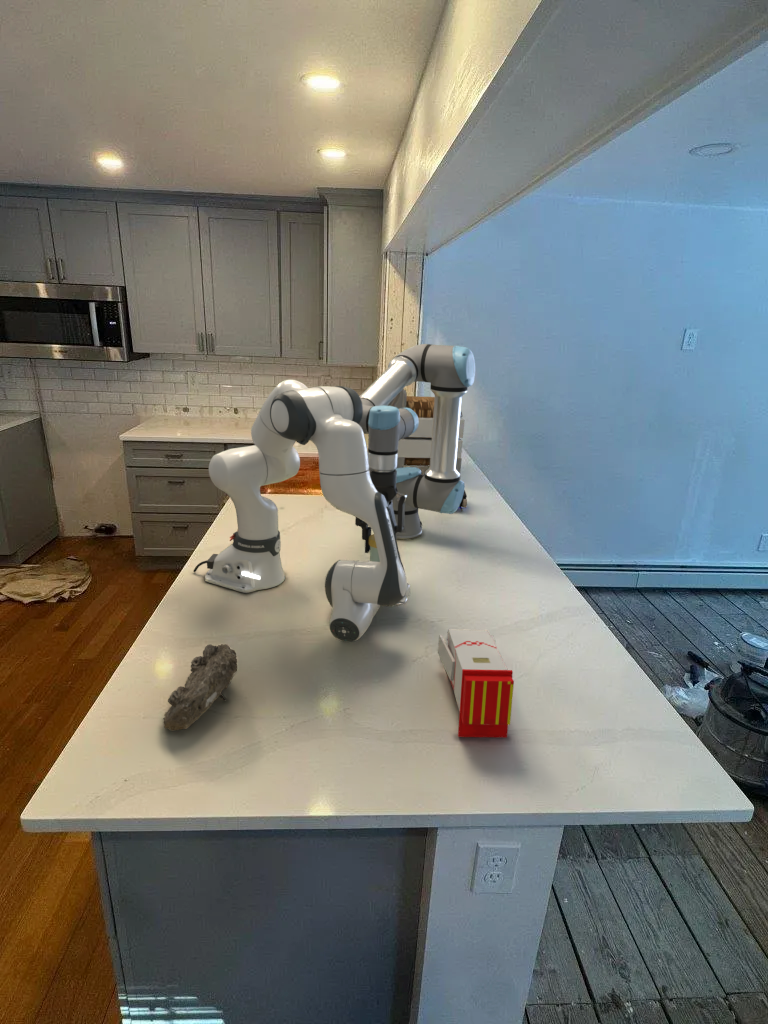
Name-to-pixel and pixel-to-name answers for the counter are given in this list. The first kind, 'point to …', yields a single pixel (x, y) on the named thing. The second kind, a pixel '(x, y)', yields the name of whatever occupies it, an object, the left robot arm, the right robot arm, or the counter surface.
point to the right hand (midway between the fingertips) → (378, 552)
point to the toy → (478, 682)
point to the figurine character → (463, 502)
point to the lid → (372, 541)
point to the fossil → (201, 686)
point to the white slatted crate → (421, 432)
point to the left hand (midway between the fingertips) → (378, 575)
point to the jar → (374, 555)
